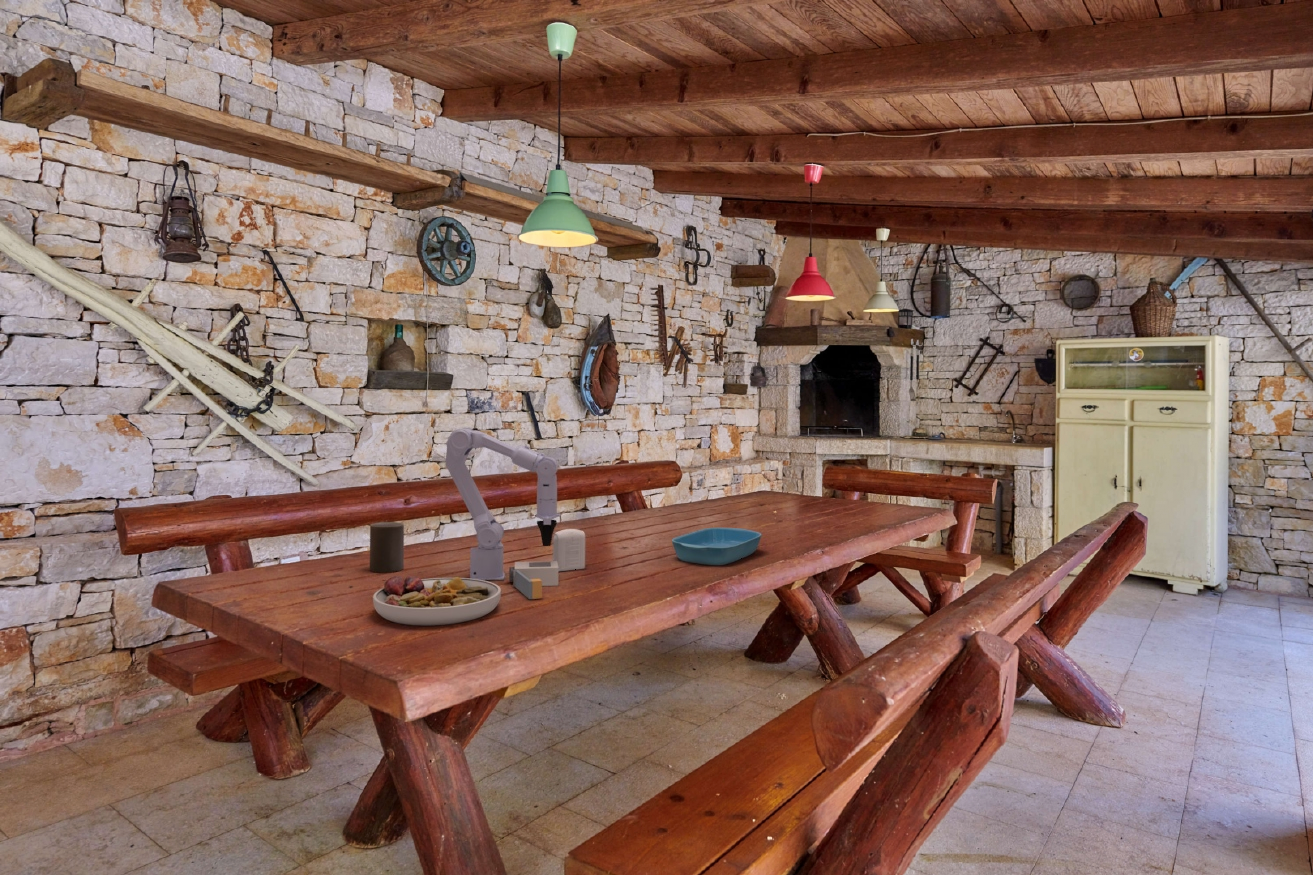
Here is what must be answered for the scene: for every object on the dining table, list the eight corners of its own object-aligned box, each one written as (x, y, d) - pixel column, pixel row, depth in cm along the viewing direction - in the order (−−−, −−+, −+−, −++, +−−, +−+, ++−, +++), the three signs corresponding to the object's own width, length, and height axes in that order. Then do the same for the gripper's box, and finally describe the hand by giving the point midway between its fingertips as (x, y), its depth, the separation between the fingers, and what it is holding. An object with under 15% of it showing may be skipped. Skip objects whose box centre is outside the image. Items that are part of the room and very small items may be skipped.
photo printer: (580, 566, 245) (580, 526, 244) (587, 569, 241) (587, 528, 240) (550, 570, 239) (550, 529, 238) (556, 572, 235) (556, 531, 235)
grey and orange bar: (513, 586, 217) (513, 569, 217) (526, 585, 219) (526, 568, 218) (527, 599, 204) (528, 581, 203) (541, 598, 205) (541, 580, 205)
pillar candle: (382, 574, 230) (382, 523, 230) (362, 569, 236) (363, 519, 235) (410, 569, 238) (411, 519, 237) (391, 564, 244) (391, 516, 243)
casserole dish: (722, 571, 241) (723, 548, 241) (660, 562, 253) (660, 540, 252) (770, 551, 273) (771, 531, 272) (712, 544, 284) (713, 524, 284)
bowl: (519, 600, 204) (519, 570, 204) (466, 634, 175) (466, 599, 175) (414, 592, 211) (414, 563, 211) (346, 624, 182) (346, 590, 181)
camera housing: (508, 586, 217) (509, 568, 217) (509, 579, 226) (509, 561, 226) (558, 585, 220) (558, 567, 219) (557, 578, 228) (557, 560, 228)
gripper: (561, 502, 221) (561, 550, 222) (560, 495, 235) (559, 540, 236) (536, 502, 220) (536, 550, 221) (536, 495, 234) (535, 541, 235)
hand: (546, 545), depth 228 cm, fingers closed
